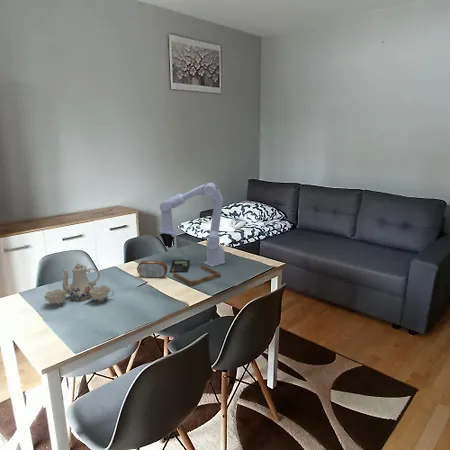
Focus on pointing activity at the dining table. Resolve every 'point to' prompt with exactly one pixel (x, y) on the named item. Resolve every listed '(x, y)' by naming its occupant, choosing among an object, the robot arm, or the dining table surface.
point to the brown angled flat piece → (201, 280)
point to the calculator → (180, 266)
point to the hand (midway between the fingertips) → (168, 246)
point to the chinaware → (78, 287)
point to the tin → (152, 269)
